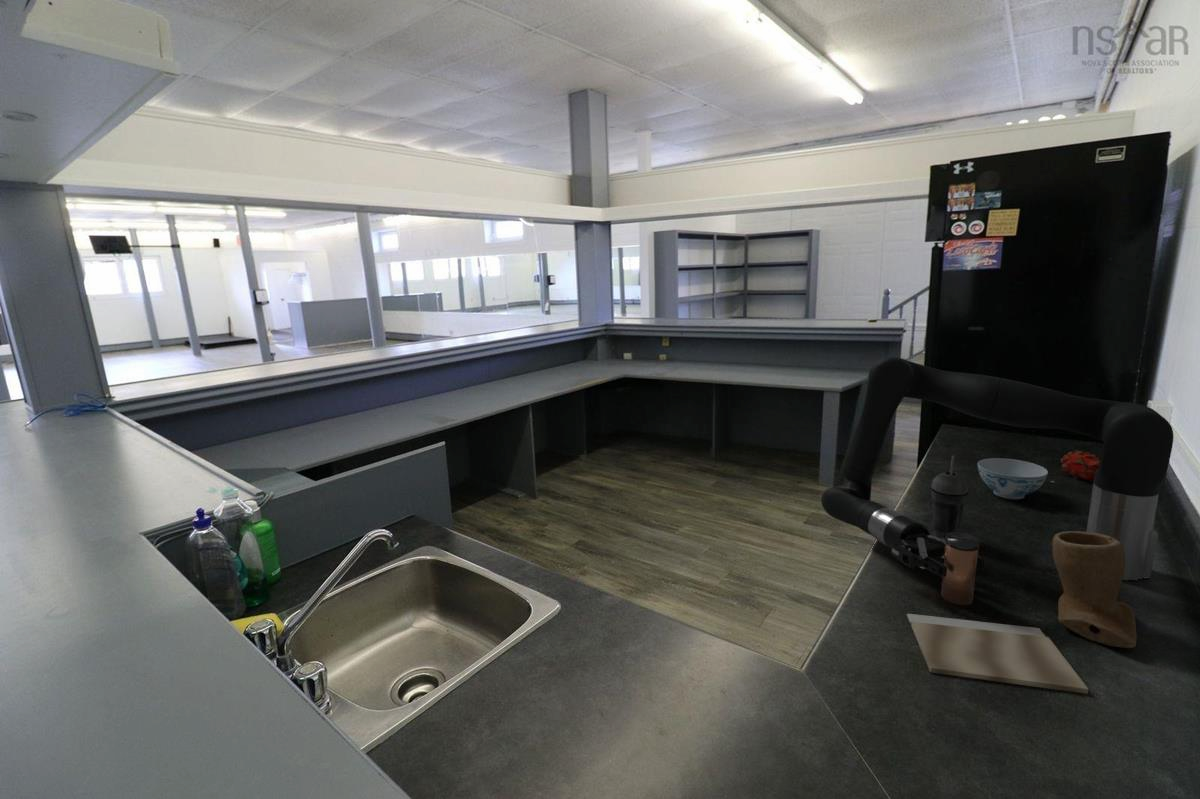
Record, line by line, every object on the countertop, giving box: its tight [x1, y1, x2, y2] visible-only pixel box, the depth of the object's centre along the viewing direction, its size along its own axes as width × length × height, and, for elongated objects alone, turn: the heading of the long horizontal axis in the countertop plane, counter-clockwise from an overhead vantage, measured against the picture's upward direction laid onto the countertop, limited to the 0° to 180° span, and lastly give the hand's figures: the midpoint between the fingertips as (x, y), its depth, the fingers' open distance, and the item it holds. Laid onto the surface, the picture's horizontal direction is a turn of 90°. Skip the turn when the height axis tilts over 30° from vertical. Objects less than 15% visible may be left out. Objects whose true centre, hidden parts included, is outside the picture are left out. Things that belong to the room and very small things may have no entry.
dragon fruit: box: [1060, 450, 1101, 483], centre depth 156 cm, size 8×8×12 cm
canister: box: [940, 531, 981, 606], centre depth 103 cm, size 5×5×12 cm
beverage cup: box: [930, 455, 969, 538], centre depth 125 cm, size 7×7×20 cm
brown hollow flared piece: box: [1052, 530, 1137, 649], centre depth 94 cm, size 15×12×15 cm
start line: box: [906, 613, 1046, 637], centre depth 95 cm, size 20×2×1 cm, turn 74°
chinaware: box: [977, 457, 1049, 500], centre depth 148 cm, size 15×15×8 cm
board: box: [910, 622, 1089, 695], centre depth 88 cm, size 20×12×1 cm, turn 74°
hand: (964, 568), depth 102 cm, fingers open, 8 cm apart
